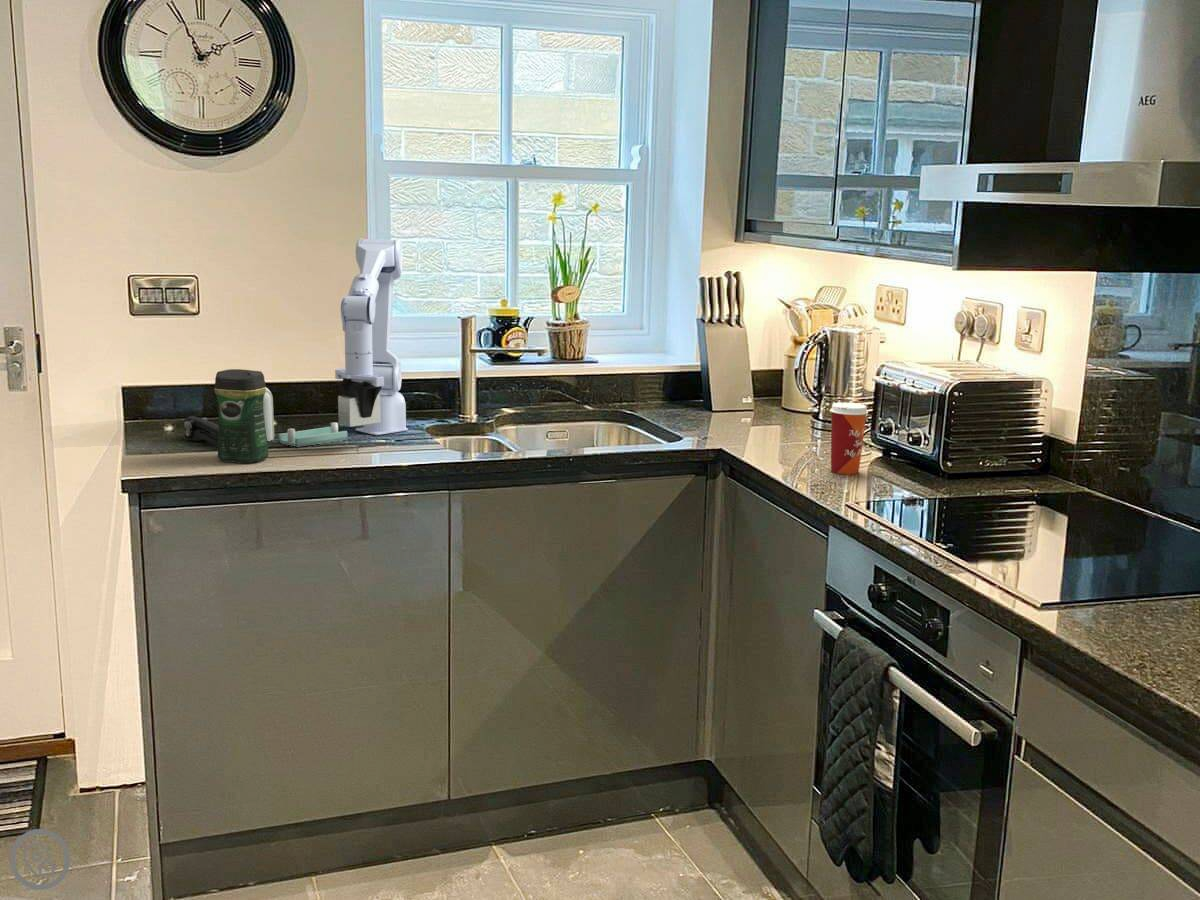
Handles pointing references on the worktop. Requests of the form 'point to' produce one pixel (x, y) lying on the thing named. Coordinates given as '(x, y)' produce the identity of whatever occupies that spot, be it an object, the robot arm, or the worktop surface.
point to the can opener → (201, 430)
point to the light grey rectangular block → (356, 411)
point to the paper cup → (847, 437)
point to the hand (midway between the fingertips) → (359, 415)
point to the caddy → (313, 436)
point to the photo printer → (268, 415)
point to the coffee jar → (241, 416)
